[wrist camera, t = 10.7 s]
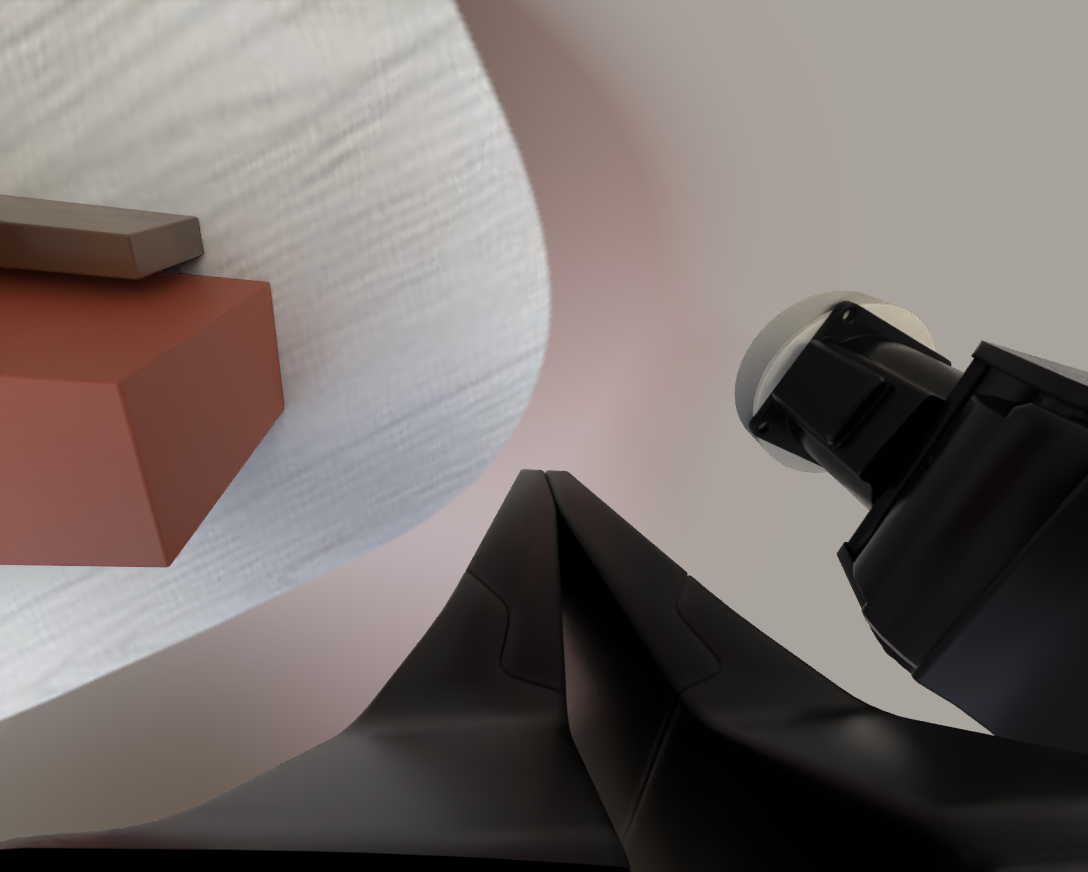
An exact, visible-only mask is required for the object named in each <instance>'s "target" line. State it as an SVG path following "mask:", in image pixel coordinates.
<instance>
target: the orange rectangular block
mask: <svg viewBox="0 0 1088 872" xmlns="http://www.w3.org/2000/svg"><path fill="white" fill-rule="evenodd" d="M283 410H284V402H283V393H282V385H281V376H280V368H279V359H278V351H277V342H276V334H275V325H274V317H273V308H272V300H271V291H270V284H269V283H268V282H261V281H251V280H241V279H230V278H220V277H210V276H199V275H189V274H178V273H168V272H157V273H154V274H152V275H149V276H147V277H144V278H142V279H139V280H131V279H120V278H109V277H98V276H88V275H77V274H66V273H56V272H45V271H34V270H24V269H13V268H2V267H0V565H54V566H116V567H169V566H170V565H171V564H172V563H173V561H174V560H175V558H176V557H177V556H178V554H179V553H180V552H181V550H182V549H183V547H184V546H185V545H186V543H187V542H188V541H189V539H190V538H191V537H192V535H193V534H194V532H195V531H196V530H197V528H198V527H199V526H200V524H201V523H202V521H203V520H204V519H205V517H206V516H207V515H208V513H209V512H210V510H211V509H212V508H213V506H214V505H215V504H216V502H217V501H218V499H219V498H220V497H221V495H222V494H223V493H224V491H225V490H226V489H227V487H228V486H229V484H230V483H231V482H232V480H233V479H234V478H235V476H236V475H237V473H238V472H239V471H240V469H241V468H242V467H243V465H244V464H245V462H246V461H247V460H248V458H249V457H250V456H251V454H252V453H253V451H254V450H255V449H256V447H257V446H258V445H259V443H260V442H261V441H262V439H263V438H264V436H265V435H266V434H267V432H268V431H269V430H270V428H271V427H272V425H273V424H274V423H275V421H276V420H277V419H278V417H279V416H280V414H281V413H282V412H283Z"/></svg>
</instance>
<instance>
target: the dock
mask: <svg viewBox="0 0 1088 872" xmlns="http://www.w3.org/2000/svg"><path fill="white" fill-rule="evenodd" d="M202 254H203V248H202V242H201V236H200V230H199V224H198V219H197V218H196V217H193V216H184V215H175V214H166V213H157V212H148V211H139V210H131V209H122V208H113V207H104V206H95V205H86V204H77V203H68V202H59V201H51V200H42V199H33V198H24V197H15V196H6V195H0V267H2V268H13V269H24V270H34V271H45V272H56V273H66V274H77V275H88V276H98V277H109V278H120V279H131V280H139V279H142V278H144V277H147V276H149V275H152V274H154V273H157V272H159V271H162V270H164V269H167V268H169V267H172V266H174V265H177V264H179V263H182V262H184V261H187V260H189V259H192V258H195V257H197V256H200V255H202Z"/></svg>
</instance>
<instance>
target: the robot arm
mask: <svg viewBox="0 0 1088 872" xmlns="http://www.w3.org/2000/svg"><path fill="white" fill-rule="evenodd" d="M848 310H850V313H849V315H848V316H847V317H846V318H845V319H843V316H844V314H845V313H846V312H847V311H848ZM972 357H973V358H974V359H973V361H972V362H971V364H970V365H969V367H968V368H967V369H966V371H965V372H964V373H963V372H961V371H959V370H957V369H955V368H953V367H951V362H950V361H949V360H947V359H946V358H944V357H943V356H941V355H939V354H938V353H936V352H935V351H933V350H931V349H930V348H928V347H926V346H925V345H923V344H922V343H920V342H918V341H917V340H915V339H913V338H912V337H910V336H909V335H907V334H905V333H904V332H902V331H900V330H899V329H897V328H895V327H894V326H892V325H891V324H889V323H887V322H886V321H884V320H882V319H881V318H879V317H878V316H876V315H874V314H873V313H871V312H869V311H868V310H866V309H865V308H863V307H861V306H860V305H858V304H856V303H853V302H850V301H843V302H841V303H839V304H838V305H837V306H836V307H835V308H834V309H833V311H832V312H831V313H830V315H829V316H828V317H827V319H826V320H825V321H824V323H823V324H822V325H821V327H820V328H819V329H818V331H817V332H816V333H815V335H814V336H813V337H812V339H811V340H810V342H809V343H808V344H807V345H806V346H805V348H804V349H803V351H802V352H801V353H800V355H799V356H798V357H797V359H796V360H795V361H794V363H793V364H792V365H791V367H790V368H789V369H788V371H787V372H786V373H785V375H784V376H783V377H782V379H781V380H780V381H779V383H778V384H777V385H776V387H775V388H774V389H773V391H772V393H771V394H770V395H769V397H768V398H767V399H766V401H765V402H764V403H763V405H762V406H761V407H760V409H759V410H758V411H757V413H756V414H755V415H754V417H753V418H752V419H751V421H750V423H749V429H750V431H751V432H752V433H753V434H754V435H755V436H756V437H758V438H760V439H762V440H764V441H767V442H769V443H771V444H773V445H775V446H777V447H780V448H782V449H784V450H786V451H788V452H790V453H792V454H795V455H797V456H799V457H801V458H803V459H805V460H808V461H810V462H812V463H814V464H816V465H818V466H820V467H823V468H824V469H825V470H827V471H828V472H829V473H830V474H831V475H832V476H833V477H834V478H835V479H836V480H838V482H840V483H841V484H842V485H843V486H844V487H845V488H846V489H847V490H848V491H849V492H850V493H851V494H852V495H853V496H855V497H856V498H857V499H858V500H859V501H860V502H861V503H862V504H863V505H864V506H865V507H866V508H867V509H868V510H870V511H869V512H868V514H867V515H866V517H865V518H864V520H863V521H862V523H861V524H860V525H859V527H858V528H857V530H856V531H855V533H854V534H853V536H852V537H851V539H850V540H849V542H845V543H844V544H843V545H842V546H841V548H840V549H839V551H838V552H837V556H838V558H839V560H840V563H841V565H842V567H843V569H844V571H845V574H846V576H847V578H848V580H849V582H850V584H851V587H852V589H853V591H854V593H855V595H856V597H857V600H858V602H859V604H860V606H861V608H862V613H863V615H864V618H865V620H866V621H867V623H868V624H869V626H870V628H871V630H872V632H873V633H874V635H875V636H876V638H877V640H878V641H879V643H880V644H881V645H882V647H883V649H884V650H885V652H886V653H887V654H888V655H889V656H891V657H892V658H894V659H895V660H896V661H897V662H898V663H899V664H900V665H901V666H902V667H903V668H905V669H906V670H907V671H909V672H910V673H911V675H912V677H913V679H914V680H915V681H917V682H918V683H919V684H921V685H922V686H924V687H926V688H927V689H929V690H931V691H932V692H934V693H936V694H937V695H939V696H940V697H942V698H944V699H945V700H947V701H949V702H950V703H952V704H954V705H955V706H957V707H958V708H959V709H961V710H962V711H963V712H965V713H966V714H967V715H969V716H970V717H971V718H973V719H974V720H975V721H977V722H978V723H979V724H981V725H982V726H983V727H985V728H986V729H987V730H989V731H990V732H991V733H992V734H994V735H995V736H993V735H988V734H983V733H978V732H973V731H968V730H963V729H958V728H953V727H948V726H943V725H938V724H934V723H929V722H924V721H919V720H913V719H909V718H905V717H900V716H897V715H894V714H891V713H888V712H885V711H882V710H880V709H878V708H876V707H874V706H871V705H869V704H867V703H865V702H863V701H861V700H860V699H858V698H856V697H854V696H852V695H851V694H849V693H848V692H846V691H845V690H843V689H842V688H840V687H839V686H837V685H836V684H835V683H833V682H831V681H830V680H829V679H828V678H826V677H825V676H823V675H822V674H821V673H819V672H818V671H816V670H815V669H813V668H812V667H811V666H809V665H808V664H807V663H805V662H804V661H802V660H801V659H800V658H798V657H797V656H795V655H794V654H793V653H791V652H789V651H788V650H787V649H786V648H784V647H783V646H781V645H780V644H778V643H777V642H775V641H774V640H773V639H771V638H770V637H769V636H767V635H766V634H765V633H763V632H762V631H760V630H759V629H758V628H756V627H755V626H754V625H752V624H751V623H750V622H748V621H747V620H746V619H744V618H743V617H741V616H740V615H739V614H738V613H736V612H735V611H734V610H732V609H731V608H730V607H728V606H727V605H726V604H725V603H724V602H722V601H721V600H720V599H719V598H717V597H716V596H715V595H714V594H712V593H711V592H709V590H707V589H706V588H705V587H704V586H703V585H701V584H700V583H699V582H698V581H697V580H696V579H694V578H693V577H692V576H687V572H686V571H685V570H683V569H682V568H681V567H680V566H679V565H678V564H676V563H675V562H674V561H673V560H672V559H670V558H669V557H668V556H667V555H666V554H665V553H663V552H662V551H661V550H660V549H659V548H657V547H656V546H655V545H654V544H653V543H652V542H650V541H649V540H648V539H647V538H646V537H644V536H643V535H642V534H641V533H640V532H638V531H637V530H636V529H635V528H633V526H631V525H630V524H629V523H628V522H627V521H626V520H624V519H623V518H622V517H621V516H620V515H618V514H617V513H616V512H615V511H614V510H613V509H611V508H610V507H609V506H608V505H607V504H605V503H604V502H603V501H602V500H601V499H599V498H598V497H597V496H596V495H595V494H594V493H592V492H591V491H590V490H589V489H588V488H587V487H585V486H584V485H583V484H582V483H581V482H579V481H578V480H577V479H576V478H575V477H574V476H572V475H571V474H570V473H569V472H567V471H551V470H549V471H546V472H545V473H544V471H542V470H530V469H523V470H521V471H520V473H519V475H518V476H517V478H516V480H515V482H514V484H513V485H512V487H511V489H510V491H509V493H508V495H507V496H506V498H505V500H504V502H503V504H502V505H501V507H500V509H499V511H498V513H497V515H496V517H495V518H494V520H493V522H492V524H491V526H490V527H489V529H488V531H487V533H486V535H485V537H484V538H483V540H482V542H481V544H480V546H479V548H478V549H477V551H476V553H475V555H474V557H473V558H472V560H471V562H470V564H469V566H468V568H467V569H466V572H465V573H464V574H463V576H462V578H461V580H460V582H459V584H458V585H457V587H456V589H455V590H454V592H453V594H452V595H451V597H450V599H449V600H448V602H447V604H446V605H445V607H444V608H443V610H442V611H441V613H440V614H439V616H438V617H437V618H436V620H435V621H434V623H433V624H432V625H431V627H430V628H429V629H428V631H427V632H426V634H425V635H424V636H423V637H422V639H421V640H420V641H419V642H418V644H417V645H416V646H415V647H414V649H413V650H412V651H411V653H410V654H409V655H408V656H407V658H406V659H405V660H404V661H403V663H402V664H401V665H400V667H399V668H398V669H397V670H396V672H395V673H394V674H393V675H392V677H391V678H390V679H389V681H388V682H387V683H386V684H385V686H384V687H383V688H382V690H381V691H380V692H379V693H378V694H377V696H376V697H375V698H374V700H373V701H372V702H371V703H370V704H369V706H368V707H367V708H366V709H365V710H364V711H363V713H362V714H361V715H360V716H359V717H358V718H357V719H356V720H355V721H354V722H353V723H351V724H350V725H349V726H348V727H347V728H346V729H345V730H343V731H342V732H341V733H339V734H338V735H337V736H335V737H333V738H331V739H330V740H328V741H326V742H324V743H322V744H320V745H318V746H316V747H314V748H312V749H310V750H308V751H306V752H304V753H302V754H300V755H298V756H296V757H294V758H292V759H290V760H288V761H286V762H284V763H282V764H280V765H278V766H276V767H274V768H272V769H270V770H268V771H266V772H264V773H262V774H260V775H258V776H256V777H254V778H252V779H250V780H248V781H246V782H245V783H242V784H240V785H239V786H237V787H235V788H233V789H231V790H229V791H227V792H225V793H223V794H221V795H219V796H217V797H215V798H213V799H211V800H209V801H207V802H204V803H202V804H200V805H197V806H195V807H193V808H191V809H188V810H186V811H183V812H180V813H177V814H174V815H171V816H168V817H165V818H162V819H159V820H156V821H151V822H147V823H142V824H138V825H133V826H129V827H124V828H116V829H108V830H99V831H86V832H69V833H53V834H40V835H32V836H24V837H16V838H12V839H8V840H4V841H1V842H0V872H1088V372H1086V371H1082V370H1079V369H1076V368H1072V367H1069V366H1065V365H1062V364H1058V363H1055V362H1052V361H1049V360H1045V359H1042V358H1039V357H1036V356H1032V355H1029V354H1026V353H1022V352H1019V351H1015V350H1012V349H1009V348H1005V347H1002V346H999V345H995V344H992V343H988V342H985V341H981V343H980V344H979V346H978V347H977V348H976V350H975V352H974V353H973V354H972ZM763 423H765V425H764V427H762V428H760V429H758V428H759V426H760V425H761V424H763Z"/></svg>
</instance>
